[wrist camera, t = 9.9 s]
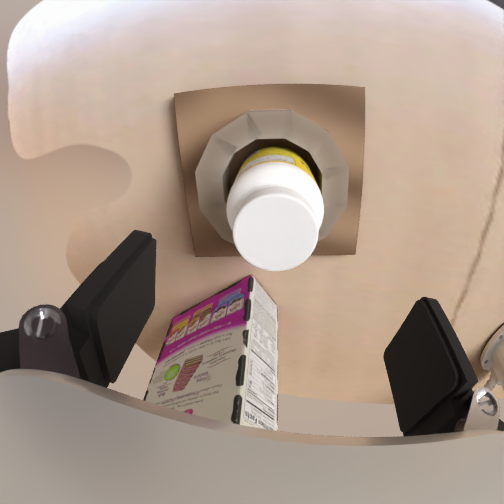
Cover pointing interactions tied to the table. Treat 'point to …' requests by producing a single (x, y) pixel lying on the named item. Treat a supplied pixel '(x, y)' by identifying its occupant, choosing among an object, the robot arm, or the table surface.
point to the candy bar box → (222, 359)
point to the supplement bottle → (275, 209)
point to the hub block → (272, 133)
